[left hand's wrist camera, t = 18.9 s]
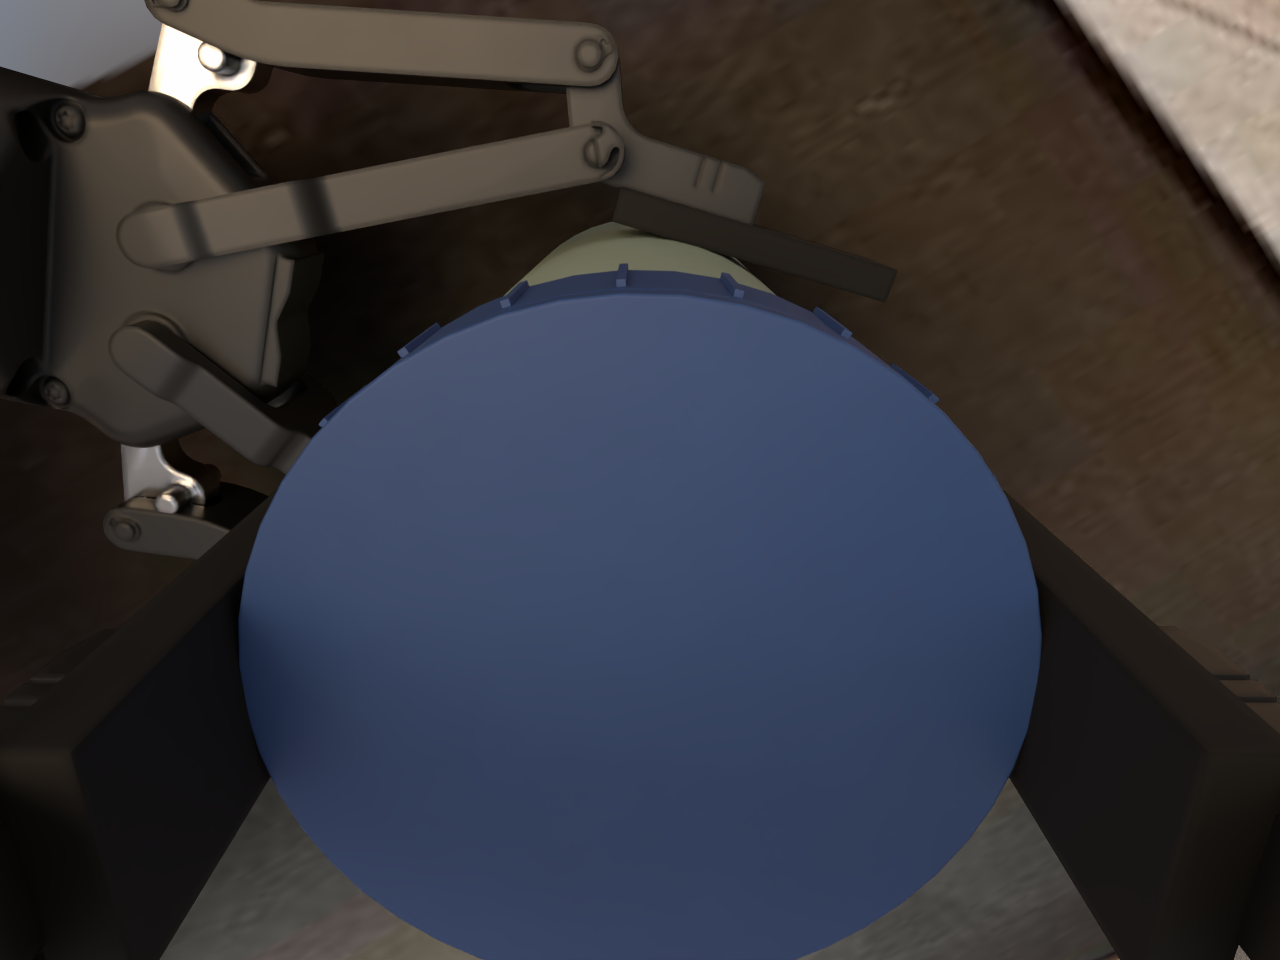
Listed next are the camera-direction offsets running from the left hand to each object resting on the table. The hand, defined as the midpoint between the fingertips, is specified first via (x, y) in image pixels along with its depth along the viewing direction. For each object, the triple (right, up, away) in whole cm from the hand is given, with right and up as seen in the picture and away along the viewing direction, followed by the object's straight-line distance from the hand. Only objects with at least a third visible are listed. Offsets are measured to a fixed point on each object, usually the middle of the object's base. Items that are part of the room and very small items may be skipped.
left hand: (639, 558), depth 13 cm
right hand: (+4, +2, +9) cm, 10 cm away
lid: (0, -1, -3) cm, 3 cm away
